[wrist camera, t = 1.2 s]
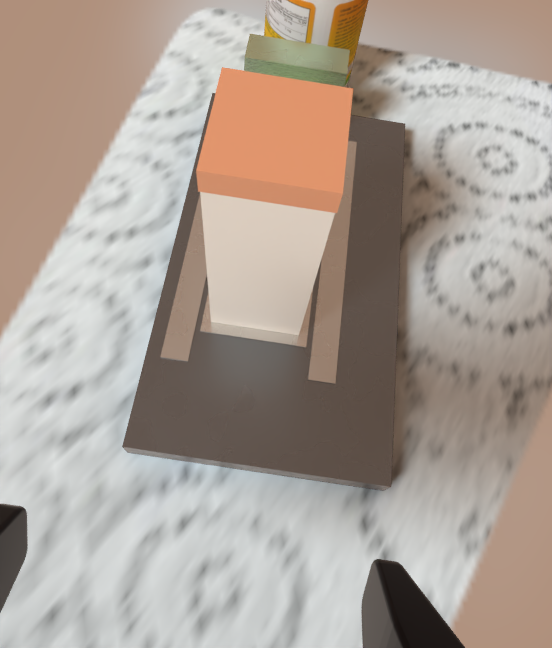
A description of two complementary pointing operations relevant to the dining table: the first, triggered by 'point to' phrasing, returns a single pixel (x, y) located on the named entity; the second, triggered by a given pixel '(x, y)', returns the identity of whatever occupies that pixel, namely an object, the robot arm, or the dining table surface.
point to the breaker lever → (270, 194)
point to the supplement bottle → (317, 23)
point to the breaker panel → (281, 348)
